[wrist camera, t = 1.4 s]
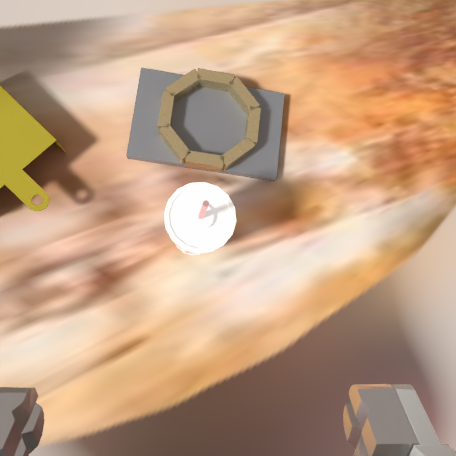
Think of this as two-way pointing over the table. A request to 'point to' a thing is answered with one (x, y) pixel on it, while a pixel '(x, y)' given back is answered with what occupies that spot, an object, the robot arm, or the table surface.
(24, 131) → the bracket
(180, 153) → the socket
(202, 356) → the table surface
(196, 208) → the beverage cup
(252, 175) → the board
